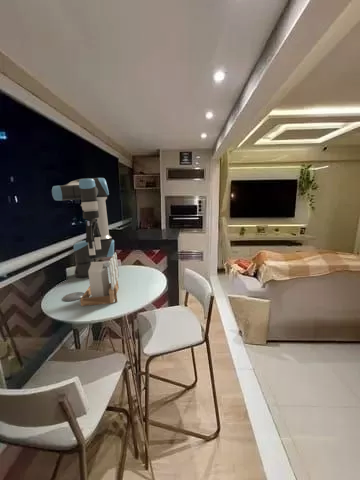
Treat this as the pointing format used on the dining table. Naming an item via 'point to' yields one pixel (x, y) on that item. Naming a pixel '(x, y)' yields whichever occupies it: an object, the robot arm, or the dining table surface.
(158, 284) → the dining table surface
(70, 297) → the disc
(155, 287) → the dining table surface
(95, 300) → the cold frame
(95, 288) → the milk carton
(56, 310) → the dining table surface
